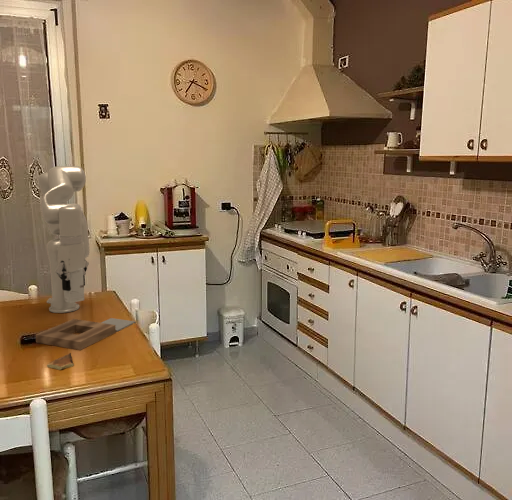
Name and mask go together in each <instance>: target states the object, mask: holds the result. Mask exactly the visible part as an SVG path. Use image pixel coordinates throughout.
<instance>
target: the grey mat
mask: <svg viewBox="0 0 512 500" xmlns="http://www.w3.org/2000/svg"><path fill="white" fill-rule="evenodd" d="M100 323H105V324H112V325H115V328H116V333H118V332H120V331H122V330H124V329H125V328H127V327H128V328H129V326H131V325H133V323H134V324H136V321H134V320H127V319H121V318H112V317H110V318H108V319H106V320H104V321H102V322H100Z"/></svg>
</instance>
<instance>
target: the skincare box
mask: <svg viewBox="0 0 512 500" xmlns="http://www.w3.org/2000/svg"><path fill="white" fill-rule="evenodd" d="M66 274H67V273H65V276H66ZM69 280H70V287H71V290H70V291H65V290H64V297H65V301H66V302H68V303H72V302H75V303H79V302H82V301H85V286H84V280H83V269H82V268H81V269H78V270H77V271H74V272H71V273H70V276H69Z"/></svg>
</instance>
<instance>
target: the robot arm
mask: <svg viewBox="0 0 512 500" xmlns="http://www.w3.org/2000/svg"><path fill="white" fill-rule="evenodd" d="M86 178H87V176H86V173H85V171H84V169H83V167H81V166H78V165H59V166H53V167H51V168H50V169H49V170H48V172H43V173H41V174H39V176H38V180H37V181H38V182H37V183H38V187H39V190H40V192H41V194H42V198H41V202H40V209H41V216H42V219H43V221H44V223H45V224H47V225H48V230H49V234H51V235H53V236H59V238H54V239H51V240H49V241H48V242H47V243H46V253H47V258H48V263H49V271H50V283H51V284H50V285H51V297H48V299H47V300H46V303H47V304H50V306H49V307H48V310H49V312H50V313H54V314H58V313H59V314H65V313H71V312H75V311H78V310H79V309H80V304H79V303H78V302H72V303H68V302H66V301H65V297H64V290H65V291H70V290H71V287H70V280H69V276H70V273H71V272H74V271H77V270H78V269H81V268H82V269H83V280H84V287H85V286H86V280H85V278H86V276H85V275H86V272H87V271H88V266H89V261H87V260H86V259H87V258H88V257H89V255H90V239H89V238H90V237H89V231H88V229H89V228H88V221H87V218H86V215H85V214H84V209H83V207H82V206H81V205H80V204H78V203H68V201H69V200H71V199H72V198H73V196H74V192H75V193H76V192H80V191H81V190H82V189H83V188H84V187H85V184H86V183H87V182H86V180H87V179H86ZM65 273H67V274H66V276H65Z"/></svg>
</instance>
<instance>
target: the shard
mask: <svg viewBox="0 0 512 500" xmlns="http://www.w3.org/2000/svg"><path fill="white" fill-rule="evenodd" d="M74 366H75V364H74V360H73V356H72V353H71V352H69V353H67V354H65V355H63V356H61V357H58V358H56V359H54V360H52V361H50V362H49V363H47V365H46V367H47V368H50V369H54V370H59V371H60V370H63V369H68V368H71V367H74Z"/></svg>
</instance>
